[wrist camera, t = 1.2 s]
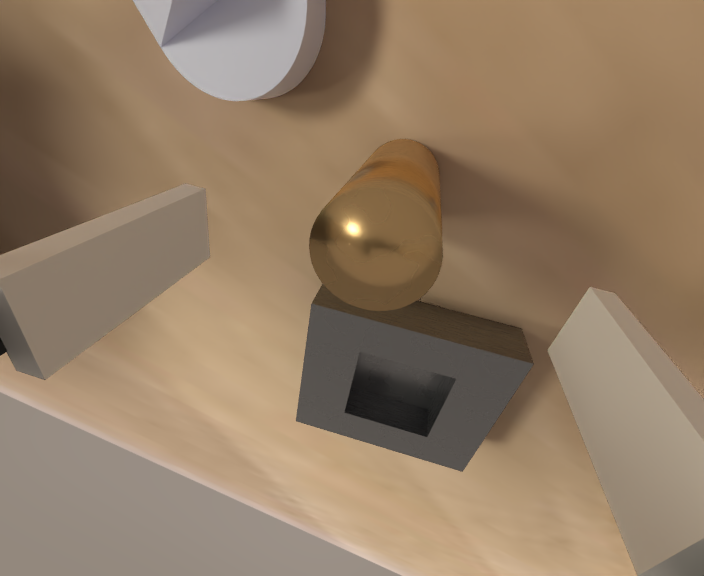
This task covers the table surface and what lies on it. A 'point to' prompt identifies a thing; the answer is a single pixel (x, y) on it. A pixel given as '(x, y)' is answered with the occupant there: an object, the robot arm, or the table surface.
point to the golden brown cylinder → (382, 230)
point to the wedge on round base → (238, 43)
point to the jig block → (409, 377)
